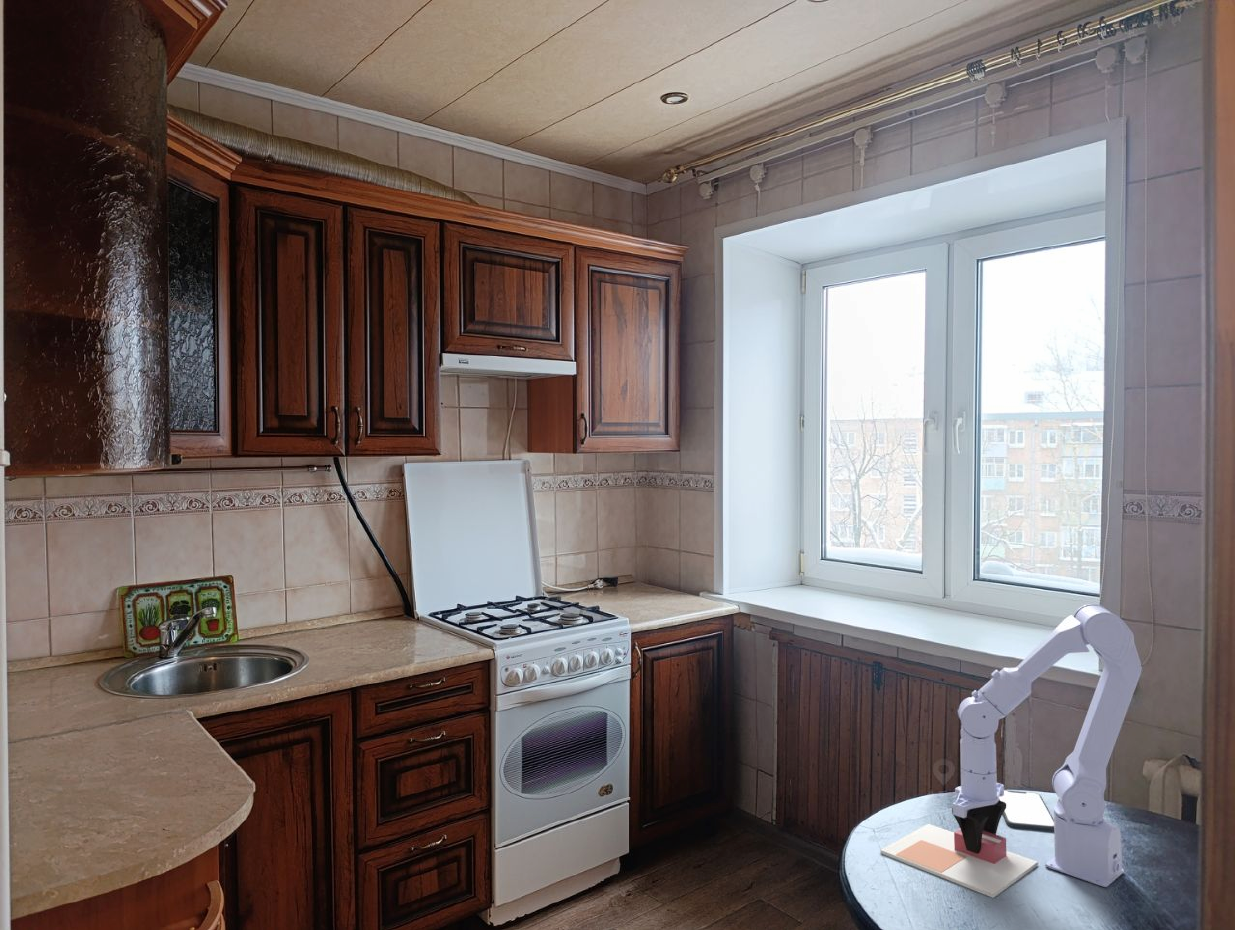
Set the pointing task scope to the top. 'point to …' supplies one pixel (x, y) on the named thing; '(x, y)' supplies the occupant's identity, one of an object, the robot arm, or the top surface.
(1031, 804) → the smartphone
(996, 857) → the card box
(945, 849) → the mat
